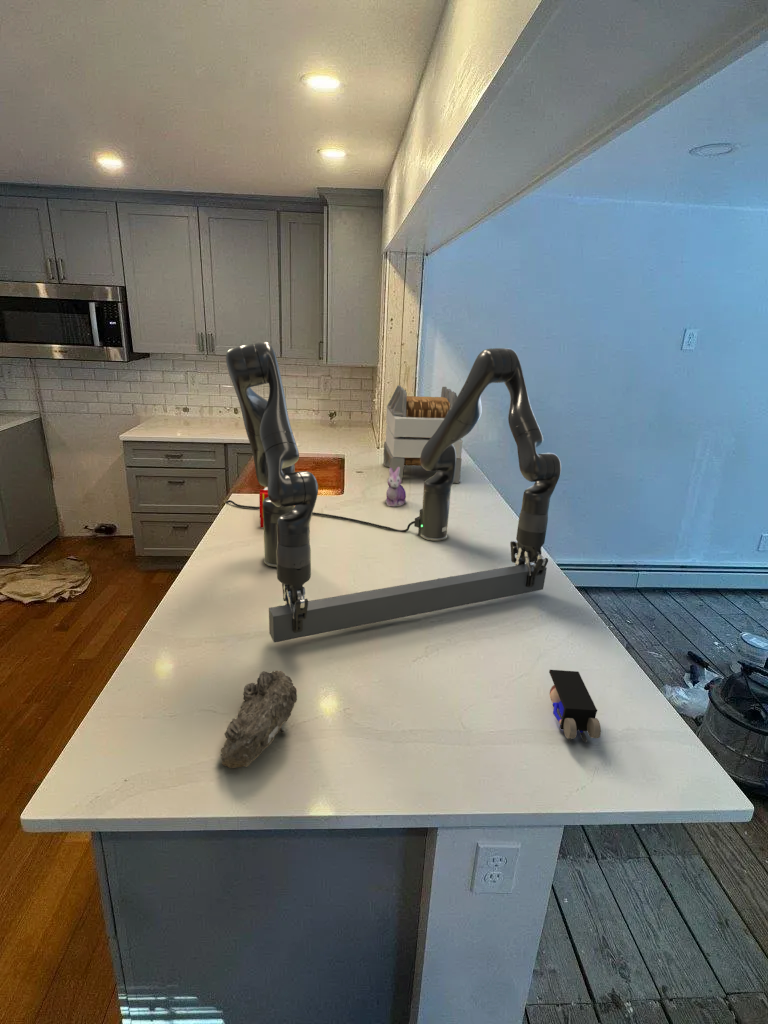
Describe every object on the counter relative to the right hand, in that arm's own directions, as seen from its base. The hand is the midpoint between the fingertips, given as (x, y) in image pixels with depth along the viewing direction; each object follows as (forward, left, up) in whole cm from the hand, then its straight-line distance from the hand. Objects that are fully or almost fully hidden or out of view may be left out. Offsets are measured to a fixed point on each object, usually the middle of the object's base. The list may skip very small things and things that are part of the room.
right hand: (524, 582), depth 159 cm
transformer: (-89, +87, -4) cm, 125 cm away
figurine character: (+28, -44, -4) cm, 52 cm away
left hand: (-33, -57, 0) cm, 66 cm away
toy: (-97, +1, -4) cm, 97 cm away
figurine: (-72, +42, -4) cm, 83 cm away
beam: (-17, -29, -2) cm, 33 cm away
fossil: (-17, -82, -4) cm, 84 cm away
